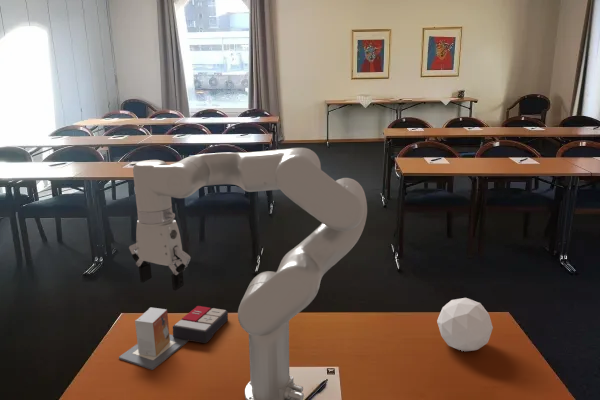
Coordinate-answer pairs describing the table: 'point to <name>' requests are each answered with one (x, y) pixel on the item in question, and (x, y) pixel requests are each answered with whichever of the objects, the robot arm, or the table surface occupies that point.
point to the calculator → (200, 324)
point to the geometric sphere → (465, 324)
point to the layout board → (153, 361)
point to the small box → (152, 331)
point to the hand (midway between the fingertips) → (162, 284)
